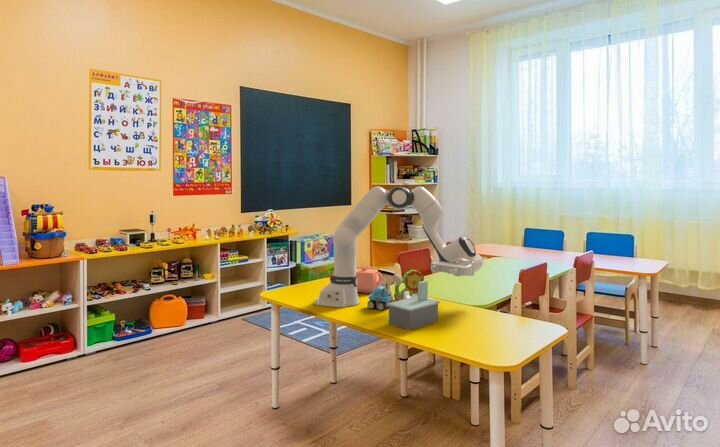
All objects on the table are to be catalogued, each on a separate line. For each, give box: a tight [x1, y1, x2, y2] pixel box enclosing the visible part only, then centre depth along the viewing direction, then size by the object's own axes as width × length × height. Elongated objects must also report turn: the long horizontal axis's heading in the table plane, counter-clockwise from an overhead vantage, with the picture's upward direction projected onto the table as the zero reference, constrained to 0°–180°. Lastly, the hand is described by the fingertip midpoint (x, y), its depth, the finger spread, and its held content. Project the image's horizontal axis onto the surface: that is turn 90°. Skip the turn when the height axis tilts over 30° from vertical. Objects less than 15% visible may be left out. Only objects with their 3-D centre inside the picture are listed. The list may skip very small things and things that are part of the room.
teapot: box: [356, 265, 383, 294], centre depth 255 cm, size 20×19×14 cm
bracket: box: [404, 291, 435, 300], centre depth 220 cm, size 13×7×8 cm, turn 123°
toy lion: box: [393, 269, 425, 301], centre depth 234 cm, size 16×5×15 cm, turn 108°
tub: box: [388, 303, 439, 331], centre depth 194 cm, size 12×18×8 cm, turn 132°
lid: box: [387, 280, 441, 311], centre depth 193 cm, size 13×19×9 cm
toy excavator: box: [367, 273, 403, 312], centre depth 216 cm, size 9×17×17 cm, turn 58°
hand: (440, 270), depth 205 cm, fingers open, 8 cm apart
